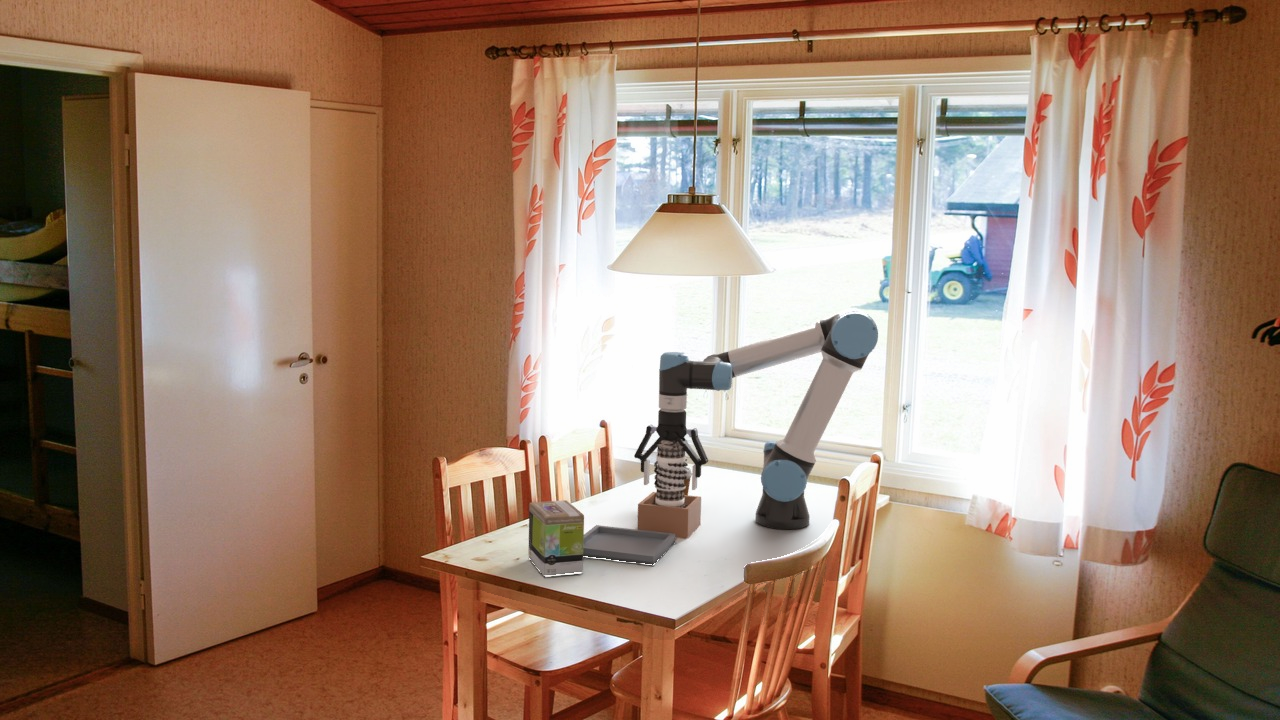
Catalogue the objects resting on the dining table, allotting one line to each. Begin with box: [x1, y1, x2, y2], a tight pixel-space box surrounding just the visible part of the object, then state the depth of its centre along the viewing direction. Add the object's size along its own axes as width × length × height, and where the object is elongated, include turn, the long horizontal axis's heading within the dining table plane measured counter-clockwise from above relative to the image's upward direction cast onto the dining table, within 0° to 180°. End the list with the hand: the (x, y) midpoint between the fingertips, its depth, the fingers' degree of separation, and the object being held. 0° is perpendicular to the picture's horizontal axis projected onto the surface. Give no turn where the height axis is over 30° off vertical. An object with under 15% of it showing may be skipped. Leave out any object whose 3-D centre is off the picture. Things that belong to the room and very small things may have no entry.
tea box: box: [528, 499, 585, 575], centre depth 250 cm, size 15×10×15 cm, turn 21°
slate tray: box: [583, 524, 676, 565], centre depth 266 cm, size 22×20×2 cm
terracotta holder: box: [636, 491, 702, 539], centre depth 284 cm, size 14×14×8 cm
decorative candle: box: [653, 439, 689, 508], centre depth 283 cm, size 9×9×25 cm
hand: (670, 486), depth 283 cm, fingers open, 13 cm apart
